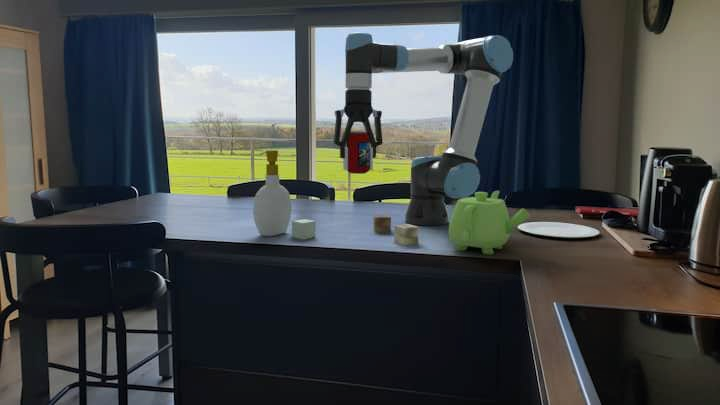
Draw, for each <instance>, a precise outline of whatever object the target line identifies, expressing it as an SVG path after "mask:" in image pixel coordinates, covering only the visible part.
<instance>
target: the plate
mask: <svg viewBox="0 0 720 405" xmlns="http://www.w3.org/2000/svg"><path fill="white" fill-rule="evenodd" d="M517 229H518V230H519V231H520V232H523V233H526V234H530V235H534V236H537V237H543V238H551V239H564V240H566V239H567V240H574V239H575V240H576V239H578V240H579V239H588V238H589V239H590V238H594V237H597V236H599V235H600V234H601V232H600V231H599V230H598V229H596V228H593V227H591V226H587V225H582V224H577V223H576V224H574V223H566V222H559V221H558V222H556V221H533V222H532V221H531V222H525V223H524V222H523V223H521V224H520V225H519V226H518V227H517Z"/></svg>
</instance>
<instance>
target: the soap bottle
mask: <svg viewBox="0 0 720 405" xmlns="http://www.w3.org/2000/svg"><path fill="white" fill-rule="evenodd" d="M263 154H264V155H265V154H266V159H267V164H266V165H265V167H266V168H265V169H266V171H265V172H266V173H265V183H264V184H263V186H262V187H261V188H259V190H258V191H257V192H256V194H255V196H254V201H253V212H252V213H253V220H254V225H255V226H256V228H257V231H258V234H259V235H260V236H263V237H266V238H267V237H274V236H279V235H283V234H285V233H286V232H287V231H288V227H289V224H290V220H291V217H292V199H291V195H290V192H289V191H288V189H286V188H285V187H284V186H283V185H281V184H280V174H279V164H277V162H278V156H279V150H277V149H269V150H267V149H266V150H265V151H264V152H261V153H259V155H263Z"/></svg>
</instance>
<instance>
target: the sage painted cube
mask: <svg viewBox="0 0 720 405" xmlns="http://www.w3.org/2000/svg"><path fill="white" fill-rule="evenodd" d="M291 237H292V238H295V239H299V240H307V239H306V238H308V239H313V238H316V221H315V220H311V219H306V218H304V219H297V220H292V221H291ZM312 237H313V238H312Z"/></svg>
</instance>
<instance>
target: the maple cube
mask: <svg viewBox="0 0 720 405" xmlns="http://www.w3.org/2000/svg"><path fill="white" fill-rule="evenodd" d="M419 231H420V230H419V226H418V225H415V224H410V223H406V224H405V223H404V224H396V225H394V236H393V237H394V239H393V240H394V241H393V242H394V243H397V244H399V245H402V246H408V245H409V246H410V245H418V244H419V233H420V232H419Z"/></svg>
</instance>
